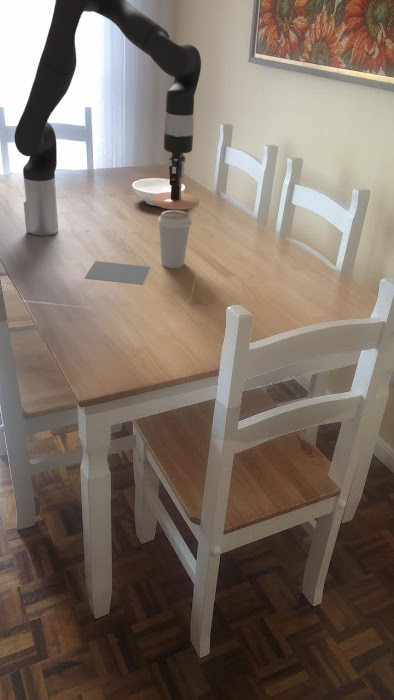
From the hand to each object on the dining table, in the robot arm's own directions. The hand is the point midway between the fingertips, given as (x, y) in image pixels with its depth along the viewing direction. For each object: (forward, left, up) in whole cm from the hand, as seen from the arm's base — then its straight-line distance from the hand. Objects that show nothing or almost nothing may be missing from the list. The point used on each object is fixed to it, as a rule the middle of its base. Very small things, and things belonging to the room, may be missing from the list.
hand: (175, 197), depth 157 cm
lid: (0, 0, -1) cm, 1 cm away
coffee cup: (0, 0, -20) cm, 20 cm away
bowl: (-13, +55, -20) cm, 60 cm away
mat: (-14, -10, -20) cm, 26 cm away
